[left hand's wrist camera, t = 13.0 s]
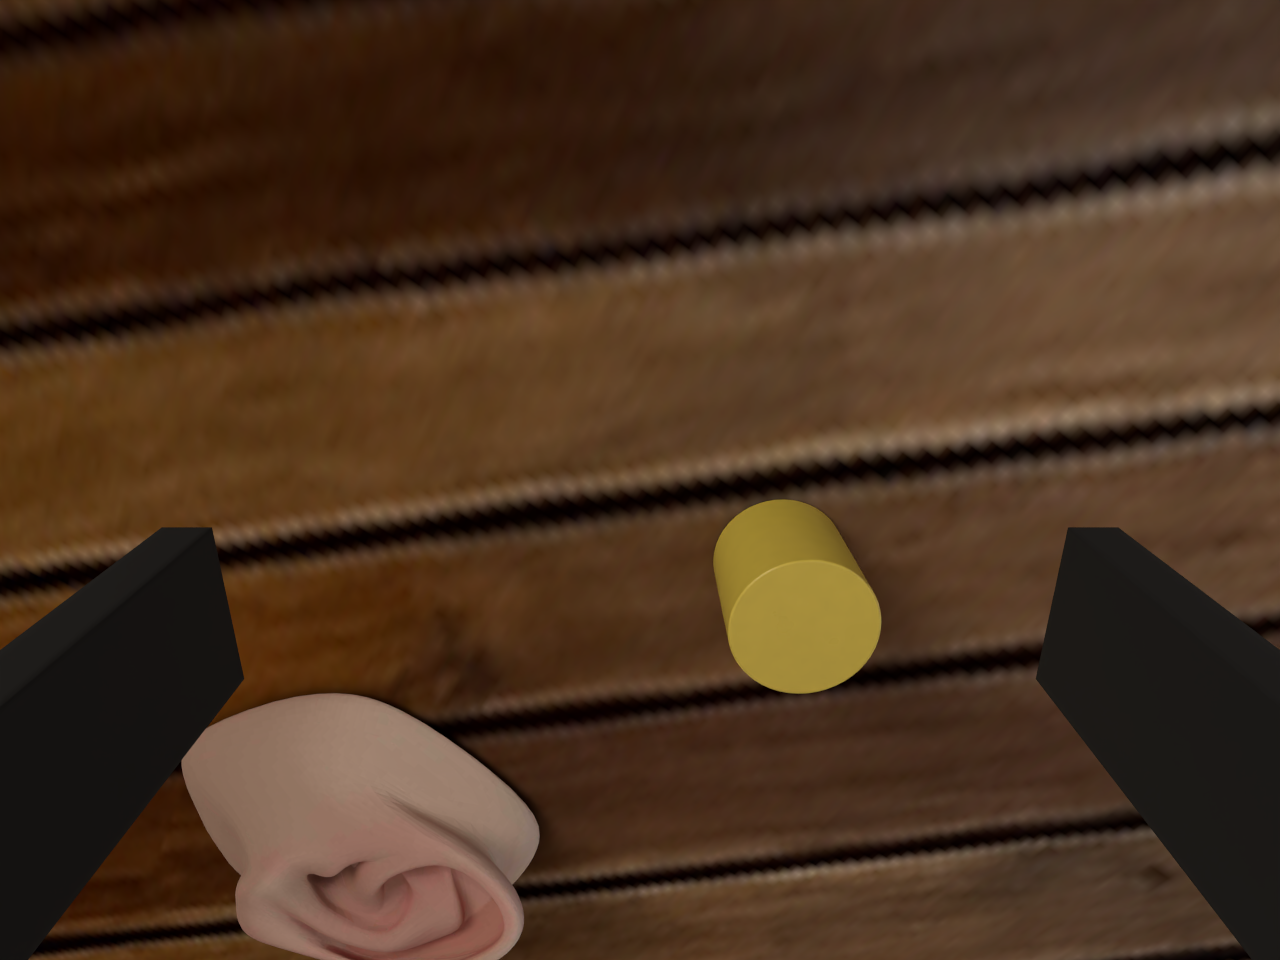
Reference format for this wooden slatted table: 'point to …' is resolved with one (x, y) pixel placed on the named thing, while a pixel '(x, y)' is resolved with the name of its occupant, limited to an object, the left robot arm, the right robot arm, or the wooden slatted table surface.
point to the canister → (794, 598)
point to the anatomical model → (361, 832)
